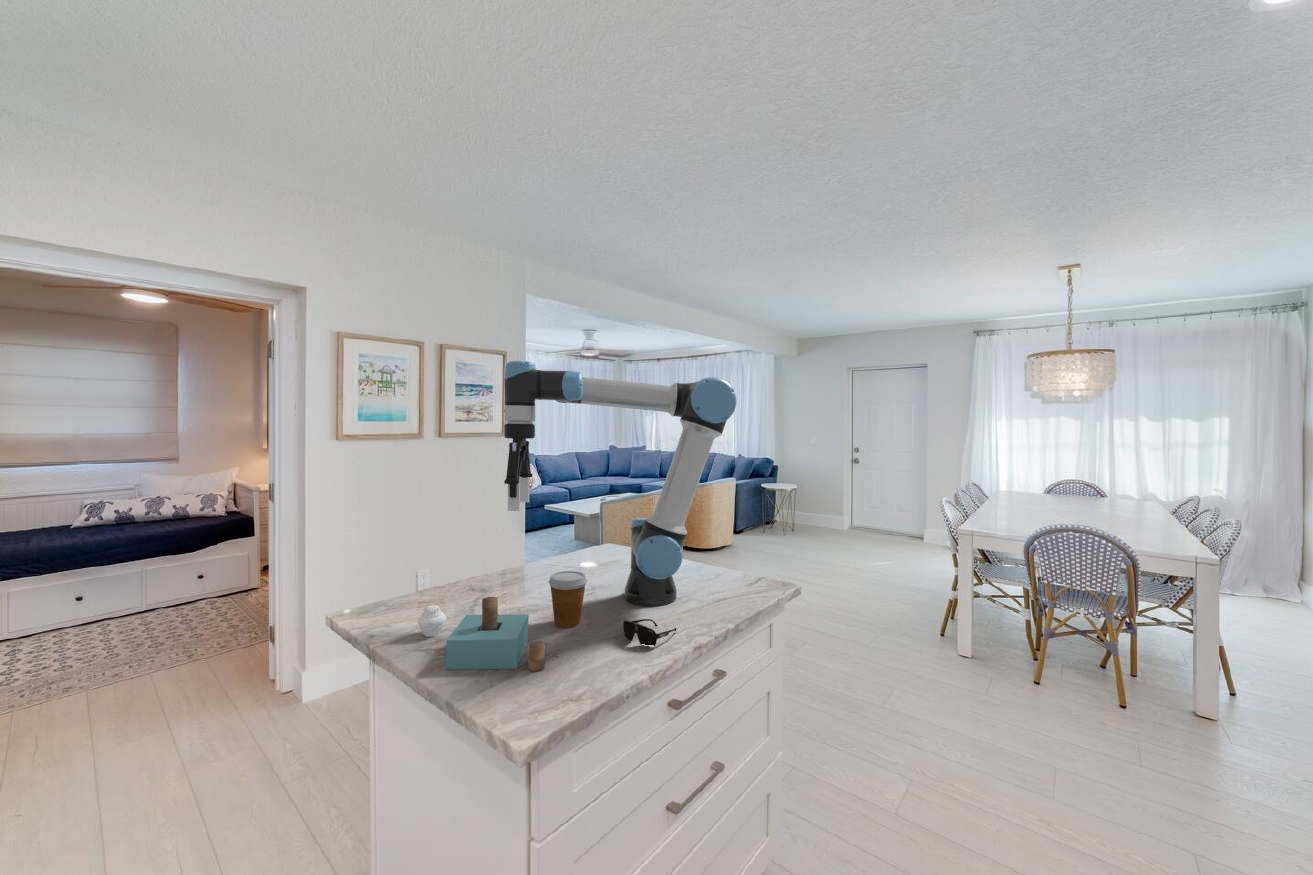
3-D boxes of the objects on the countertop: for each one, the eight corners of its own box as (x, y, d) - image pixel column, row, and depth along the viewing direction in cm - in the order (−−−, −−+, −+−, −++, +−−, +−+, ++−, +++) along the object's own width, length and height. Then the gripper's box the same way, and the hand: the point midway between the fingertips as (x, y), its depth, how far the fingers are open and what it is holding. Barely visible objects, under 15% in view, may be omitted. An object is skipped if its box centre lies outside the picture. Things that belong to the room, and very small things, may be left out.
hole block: (528, 639, 121) (528, 614, 121) (516, 668, 107) (516, 639, 107) (466, 640, 120) (466, 614, 120) (446, 669, 106) (446, 640, 106)
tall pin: (498, 650, 115) (499, 596, 115) (495, 657, 112) (495, 601, 112) (483, 650, 115) (484, 596, 115) (480, 657, 112) (480, 601, 112)
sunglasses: (616, 639, 123) (619, 617, 123) (649, 630, 132) (651, 610, 132) (651, 652, 116) (653, 629, 117) (683, 642, 125) (685, 621, 126)
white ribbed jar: (416, 641, 119) (416, 610, 119) (418, 631, 125) (418, 602, 125) (445, 637, 122) (446, 607, 122) (446, 627, 127) (446, 599, 127)
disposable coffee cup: (540, 627, 129) (541, 578, 129) (560, 614, 138) (561, 568, 137) (574, 633, 126) (575, 583, 125) (593, 619, 135) (593, 572, 134)
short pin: (545, 664, 109) (545, 640, 109) (543, 671, 106) (543, 647, 106) (529, 664, 109) (530, 640, 109) (527, 672, 106) (527, 647, 106)
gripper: (514, 422, 145) (513, 498, 146) (493, 422, 121) (492, 514, 121) (541, 422, 146) (541, 498, 147) (526, 423, 121) (525, 514, 122)
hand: (518, 506), depth 134 cm, fingers open, 13 cm apart
